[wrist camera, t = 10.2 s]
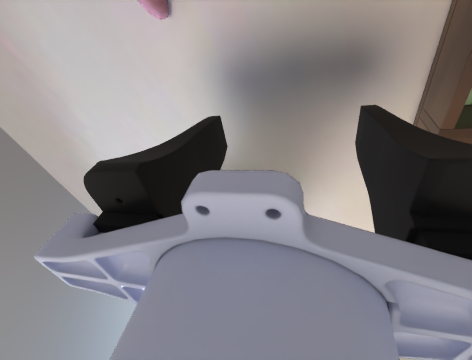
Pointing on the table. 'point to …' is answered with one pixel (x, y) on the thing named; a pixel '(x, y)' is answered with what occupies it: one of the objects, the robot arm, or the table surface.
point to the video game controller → (156, 7)
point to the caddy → (450, 80)
